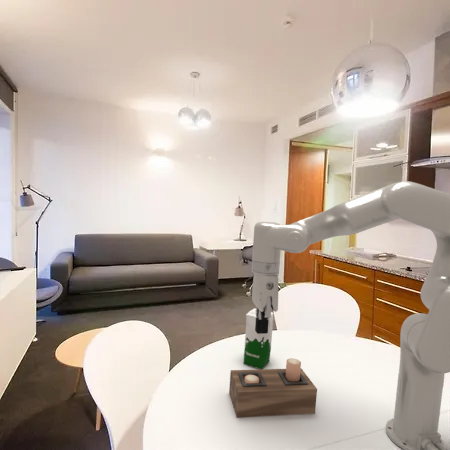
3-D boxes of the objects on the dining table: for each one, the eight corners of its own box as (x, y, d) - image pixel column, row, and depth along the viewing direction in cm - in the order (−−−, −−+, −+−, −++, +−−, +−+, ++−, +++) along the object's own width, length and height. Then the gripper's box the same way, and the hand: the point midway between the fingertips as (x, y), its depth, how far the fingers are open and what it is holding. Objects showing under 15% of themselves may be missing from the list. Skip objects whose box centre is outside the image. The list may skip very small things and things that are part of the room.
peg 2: (301, 389, 93) (303, 364, 93) (287, 389, 92) (289, 365, 92) (295, 381, 97) (297, 357, 96) (282, 381, 96) (284, 358, 96)
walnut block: (315, 413, 91) (317, 387, 90) (236, 417, 87) (238, 390, 86) (299, 390, 101) (301, 367, 101) (229, 392, 98) (230, 368, 97)
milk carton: (272, 361, 119) (276, 306, 117) (263, 371, 111) (267, 313, 109) (250, 354, 123) (253, 301, 121) (239, 364, 115) (243, 308, 114)
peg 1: (258, 406, 91) (260, 381, 91) (244, 407, 91) (246, 382, 90) (255, 397, 95) (256, 373, 95) (241, 398, 95) (243, 374, 94)
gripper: (288, 273, 84) (283, 343, 85) (270, 262, 98) (266, 322, 100) (259, 273, 82) (255, 344, 84) (245, 261, 97) (242, 322, 98)
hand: (261, 332), depth 92 cm, fingers closed
